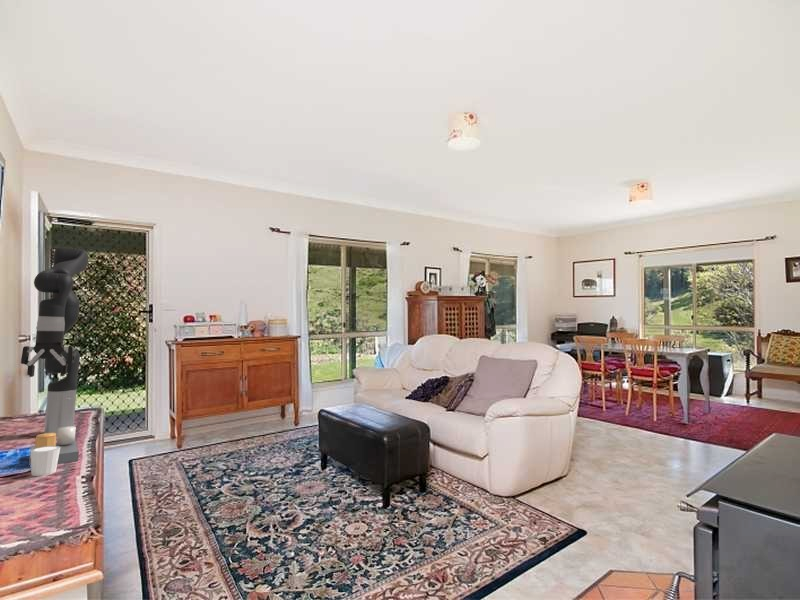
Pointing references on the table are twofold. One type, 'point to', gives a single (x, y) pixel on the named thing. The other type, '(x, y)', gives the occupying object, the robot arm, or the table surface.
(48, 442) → the orange wire cap
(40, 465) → the white tapered cup
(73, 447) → the plate
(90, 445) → the table surface
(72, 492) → the table surface
